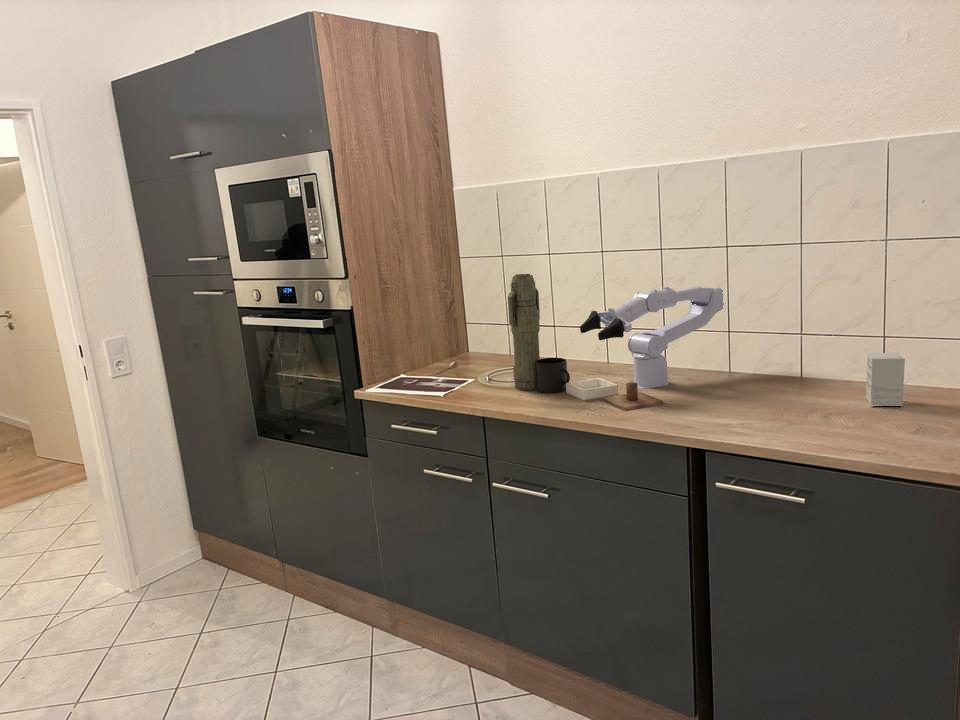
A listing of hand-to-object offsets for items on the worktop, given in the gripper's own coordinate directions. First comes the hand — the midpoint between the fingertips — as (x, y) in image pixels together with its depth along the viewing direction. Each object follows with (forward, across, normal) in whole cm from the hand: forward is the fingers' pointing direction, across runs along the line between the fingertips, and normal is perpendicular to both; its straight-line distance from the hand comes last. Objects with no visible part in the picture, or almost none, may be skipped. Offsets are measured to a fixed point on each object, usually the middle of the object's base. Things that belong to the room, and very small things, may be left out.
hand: (589, 333), depth 207 cm
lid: (+1, +15, +16) cm, 23 cm away
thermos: (+10, -22, +21) cm, 32 cm away
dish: (+4, +1, +19) cm, 19 cm away
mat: (+1, +15, +17) cm, 23 cm away
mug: (+7, -12, +20) cm, 25 cm away
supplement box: (-42, +61, +22) cm, 77 cm away
